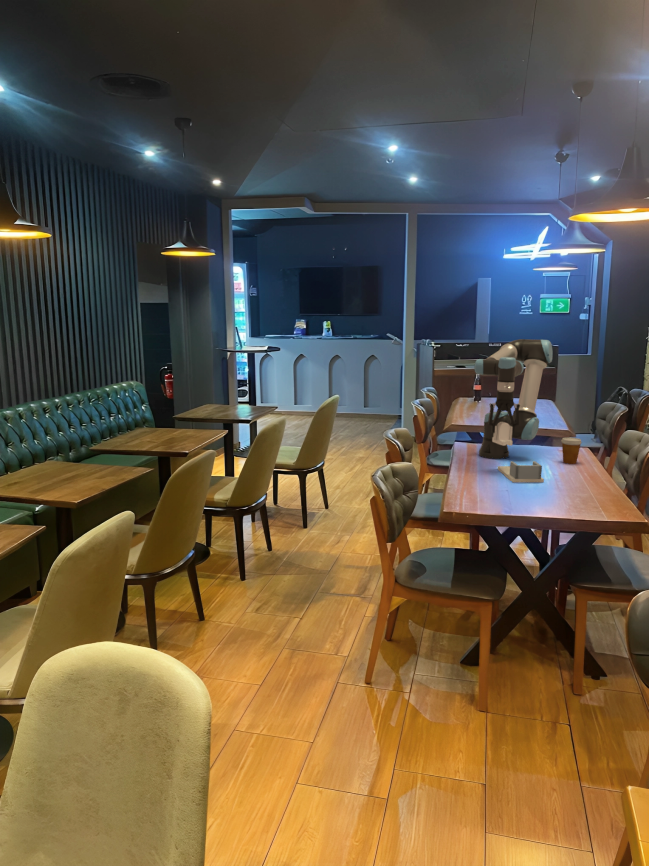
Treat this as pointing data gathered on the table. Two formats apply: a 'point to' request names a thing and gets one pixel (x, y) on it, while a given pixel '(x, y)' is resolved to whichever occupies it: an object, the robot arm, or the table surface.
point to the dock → (522, 472)
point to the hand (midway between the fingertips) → (502, 439)
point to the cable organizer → (503, 434)
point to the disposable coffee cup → (570, 449)
